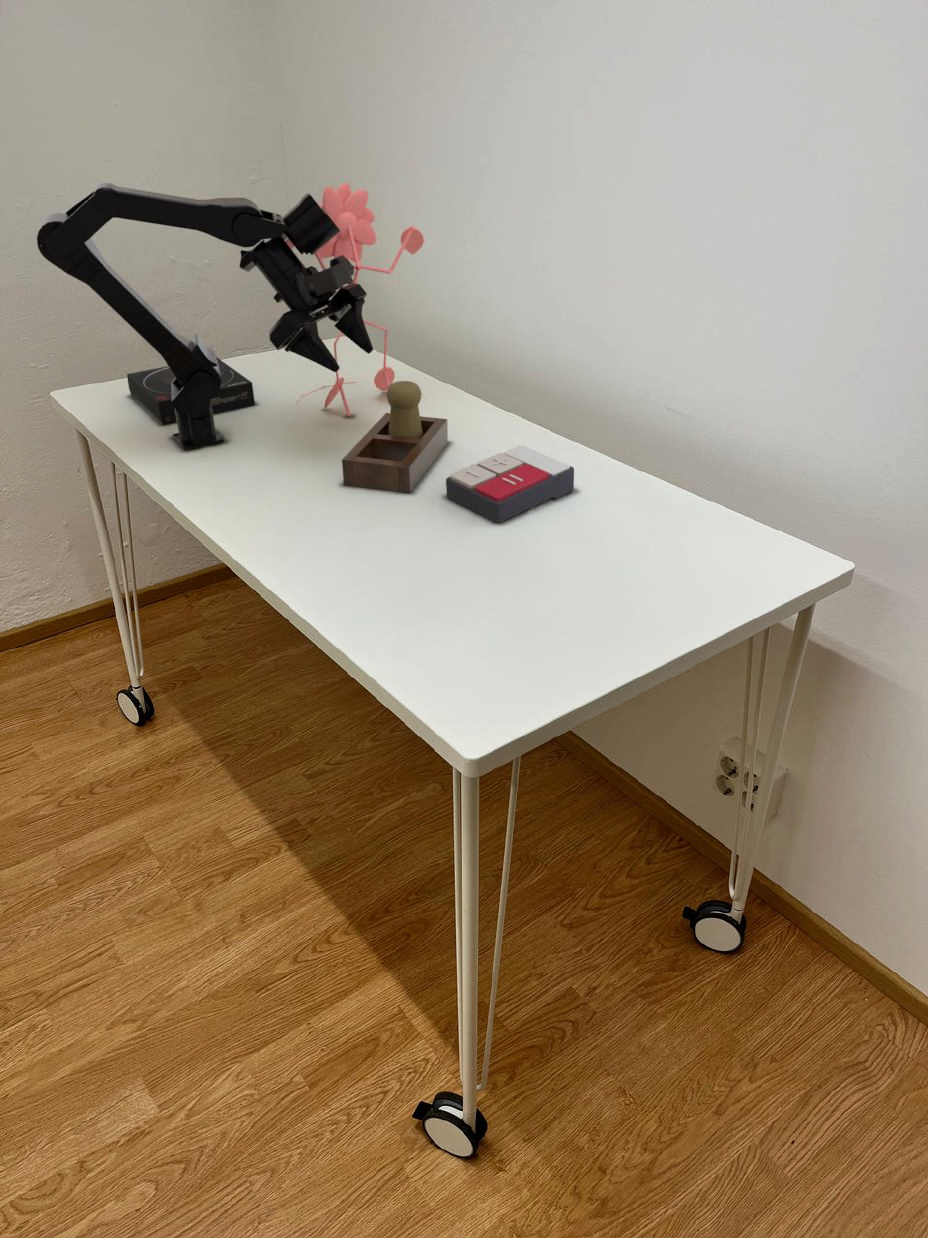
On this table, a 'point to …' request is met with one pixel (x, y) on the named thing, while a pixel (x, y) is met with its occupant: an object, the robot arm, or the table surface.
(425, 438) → the hole block
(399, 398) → the olive game pawn
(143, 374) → the portable cd player
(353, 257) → the figurine
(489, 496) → the calculator
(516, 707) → the table surface
